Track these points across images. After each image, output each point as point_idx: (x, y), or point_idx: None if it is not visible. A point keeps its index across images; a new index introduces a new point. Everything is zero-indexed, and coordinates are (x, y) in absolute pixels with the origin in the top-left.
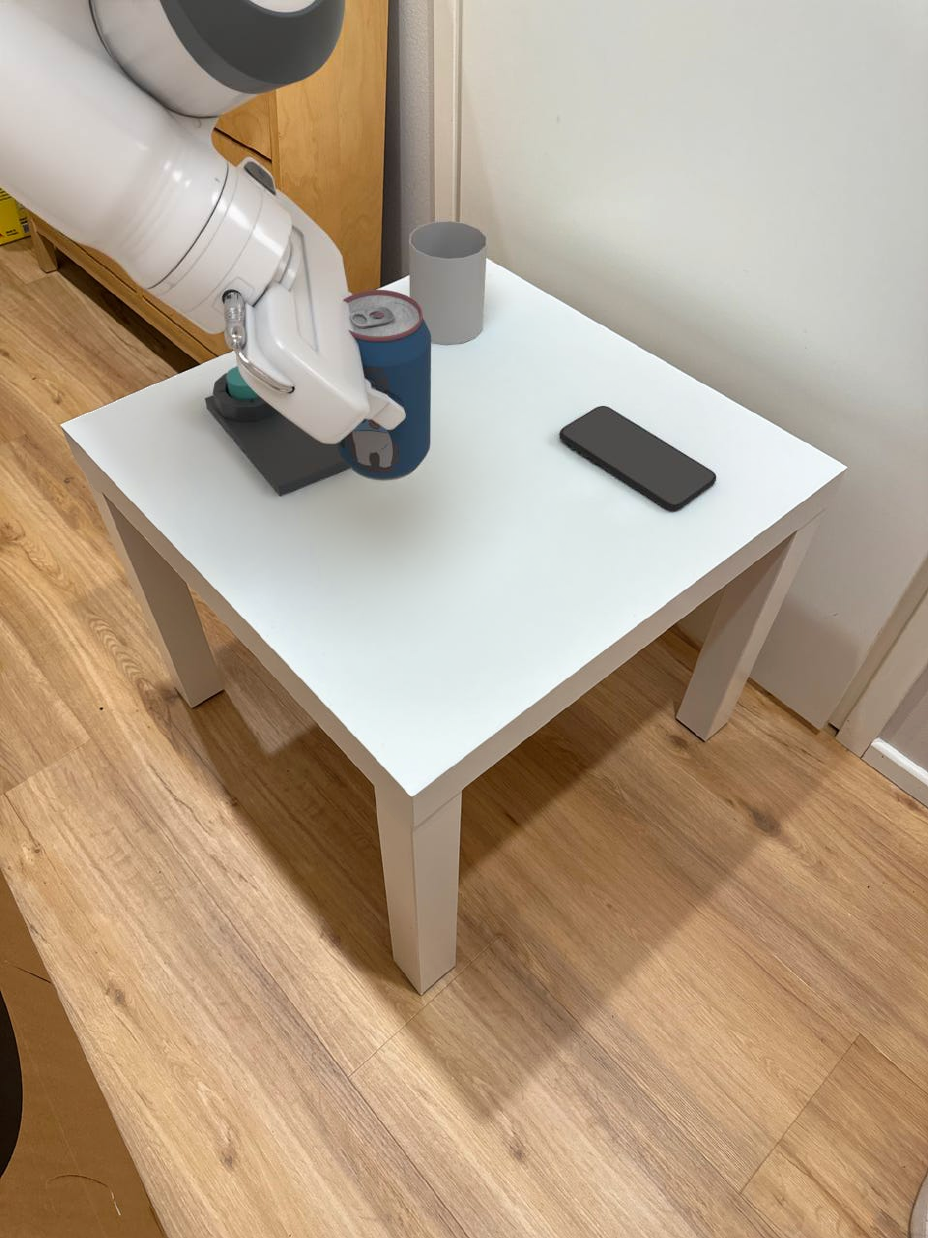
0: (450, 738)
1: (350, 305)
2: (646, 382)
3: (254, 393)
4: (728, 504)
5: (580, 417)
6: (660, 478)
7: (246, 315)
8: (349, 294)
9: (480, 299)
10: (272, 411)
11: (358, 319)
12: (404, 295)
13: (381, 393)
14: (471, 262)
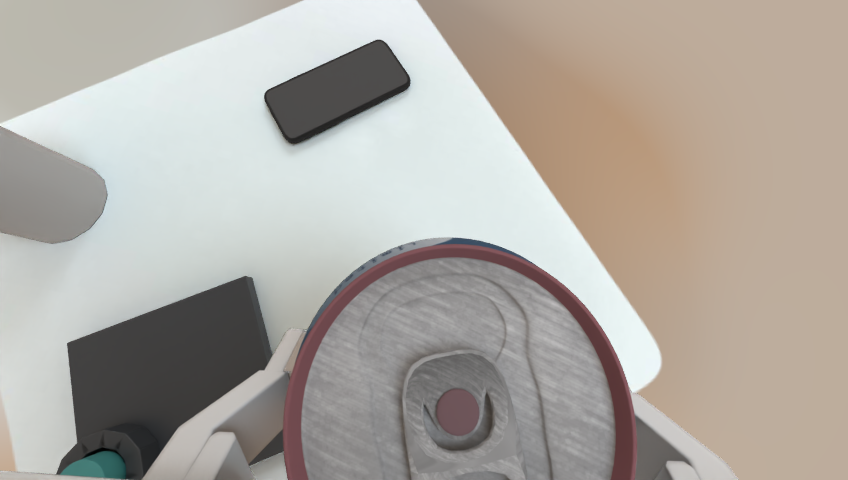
0: (627, 325)
1: None
2: (238, 51)
3: (118, 472)
4: (409, 45)
5: (275, 117)
6: (374, 80)
7: None
8: (179, 452)
9: (53, 154)
10: (153, 442)
11: None
12: (354, 286)
13: (645, 417)
14: None
